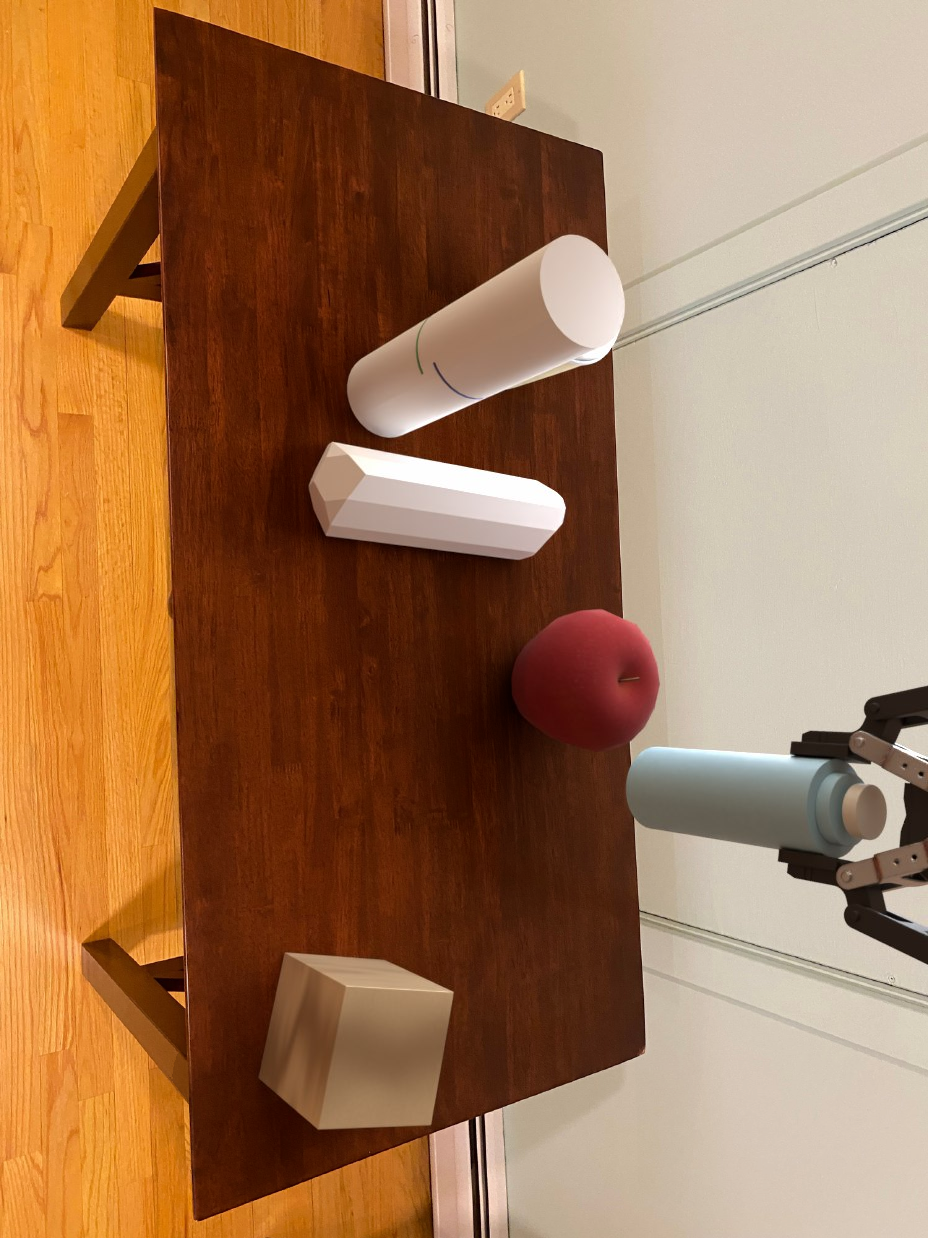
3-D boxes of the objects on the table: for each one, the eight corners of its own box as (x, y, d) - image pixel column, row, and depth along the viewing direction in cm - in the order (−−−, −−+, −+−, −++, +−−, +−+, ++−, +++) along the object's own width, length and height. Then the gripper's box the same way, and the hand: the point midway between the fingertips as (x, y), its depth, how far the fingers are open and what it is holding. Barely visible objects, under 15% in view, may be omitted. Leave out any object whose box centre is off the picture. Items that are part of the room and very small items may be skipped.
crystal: (561, 457, 85) (321, 406, 71) (587, 518, 81) (341, 477, 68) (517, 508, 90) (285, 470, 76) (540, 568, 86) (301, 539, 72)
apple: (499, 600, 85) (600, 586, 74) (591, 638, 91) (697, 630, 80) (471, 729, 82) (572, 734, 71) (568, 759, 88) (674, 768, 77)
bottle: (676, 833, 61) (895, 870, 48) (619, 822, 58) (836, 858, 45) (687, 754, 62) (904, 770, 49) (631, 739, 59) (847, 752, 47)
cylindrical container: (379, 453, 78) (579, 367, 58) (331, 379, 76) (520, 263, 56) (434, 411, 82) (640, 316, 61) (389, 339, 80) (588, 216, 59)
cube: (362, 1078, 74) (431, 1126, 65) (257, 1078, 69) (317, 1130, 60) (384, 960, 75) (454, 992, 67) (284, 952, 71) (345, 985, 62)
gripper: (1123, 649, 37) (764, 660, 51) (1108, 1032, 34) (732, 932, 48) (1195, 690, 41) (845, 690, 55) (1187, 1035, 38) (820, 943, 52)
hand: (794, 803), depth 51 cm, fingers closed on bottle, 5 cm apart
